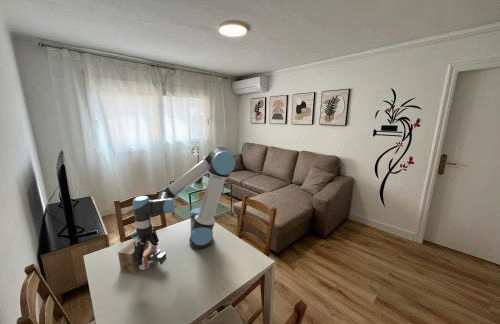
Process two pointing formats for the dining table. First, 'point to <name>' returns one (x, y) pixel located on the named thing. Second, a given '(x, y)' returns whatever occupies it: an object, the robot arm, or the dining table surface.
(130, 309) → the dining table surface
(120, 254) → the block
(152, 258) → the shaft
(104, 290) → the dining table surface
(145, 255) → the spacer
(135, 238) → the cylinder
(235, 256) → the dining table surface
